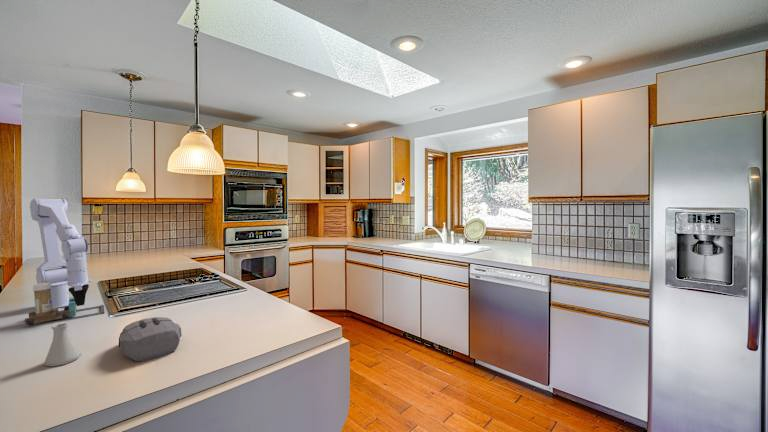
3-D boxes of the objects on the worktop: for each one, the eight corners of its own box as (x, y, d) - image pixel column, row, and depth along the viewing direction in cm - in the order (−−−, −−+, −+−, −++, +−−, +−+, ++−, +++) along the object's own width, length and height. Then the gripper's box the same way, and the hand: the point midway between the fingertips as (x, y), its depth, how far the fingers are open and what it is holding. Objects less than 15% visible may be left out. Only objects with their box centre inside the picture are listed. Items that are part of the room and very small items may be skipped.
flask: (60, 355, 96) (57, 320, 96) (87, 353, 97) (84, 319, 96) (36, 368, 89) (33, 331, 88) (66, 366, 90) (63, 329, 89)
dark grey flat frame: (33, 318, 125) (33, 316, 125) (103, 306, 138) (103, 304, 138) (29, 327, 117) (29, 325, 117) (104, 313, 130) (104, 311, 130)
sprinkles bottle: (51, 320, 123) (48, 284, 122) (34, 323, 120) (30, 286, 119) (55, 317, 127) (52, 281, 126) (38, 319, 124) (34, 283, 123)
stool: (29, 317, 125) (28, 303, 124) (76, 309, 133) (75, 296, 132) (25, 325, 116) (23, 311, 116) (75, 316, 125) (74, 303, 124)
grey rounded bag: (187, 349, 99) (171, 330, 113) (186, 321, 98) (169, 305, 113) (123, 368, 89) (113, 344, 103) (121, 337, 88) (111, 317, 102)
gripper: (91, 271, 126) (94, 307, 127) (91, 265, 137) (94, 298, 138) (65, 274, 121) (68, 312, 122) (67, 268, 132) (70, 302, 133)
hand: (80, 305), depth 130 cm, fingers closed, pressing on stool
